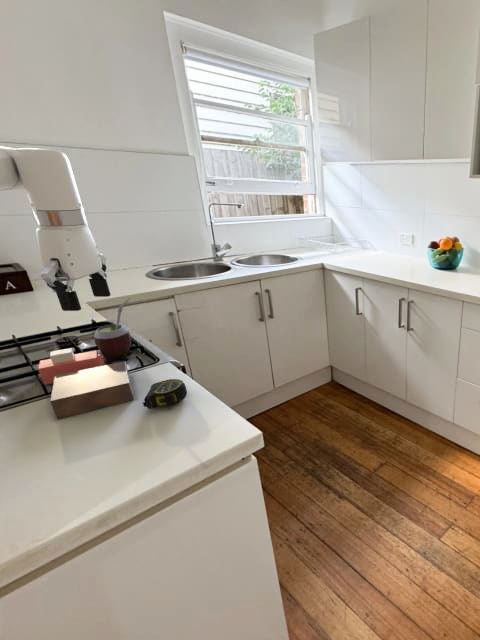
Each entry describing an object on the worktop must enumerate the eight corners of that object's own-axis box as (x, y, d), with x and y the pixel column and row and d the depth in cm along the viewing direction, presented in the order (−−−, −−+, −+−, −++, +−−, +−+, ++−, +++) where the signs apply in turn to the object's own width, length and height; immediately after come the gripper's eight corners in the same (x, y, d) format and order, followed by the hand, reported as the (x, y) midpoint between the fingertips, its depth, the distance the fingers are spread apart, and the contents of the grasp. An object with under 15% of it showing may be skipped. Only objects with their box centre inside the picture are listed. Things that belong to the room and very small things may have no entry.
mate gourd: (94, 360, 94) (74, 302, 88) (126, 348, 101) (110, 294, 95) (115, 366, 92) (96, 307, 86) (146, 353, 98) (131, 297, 92)
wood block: (57, 419, 72) (49, 401, 70) (61, 392, 80) (54, 375, 79) (134, 399, 79) (128, 382, 77) (129, 376, 87) (125, 361, 86)
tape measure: (155, 395, 80) (151, 380, 79) (191, 391, 82) (188, 375, 81) (145, 413, 74) (140, 396, 73) (184, 408, 76) (180, 392, 75)
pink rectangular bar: (44, 385, 83) (34, 360, 80) (46, 376, 86) (36, 352, 84) (106, 371, 89) (98, 348, 87) (106, 364, 92) (98, 341, 90)
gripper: (71, 214, 82) (95, 291, 88) (1, 223, 66) (36, 316, 73) (109, 215, 83) (129, 291, 89) (49, 225, 67) (80, 316, 74)
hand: (88, 302), depth 81 cm, fingers open, 9 cm apart
